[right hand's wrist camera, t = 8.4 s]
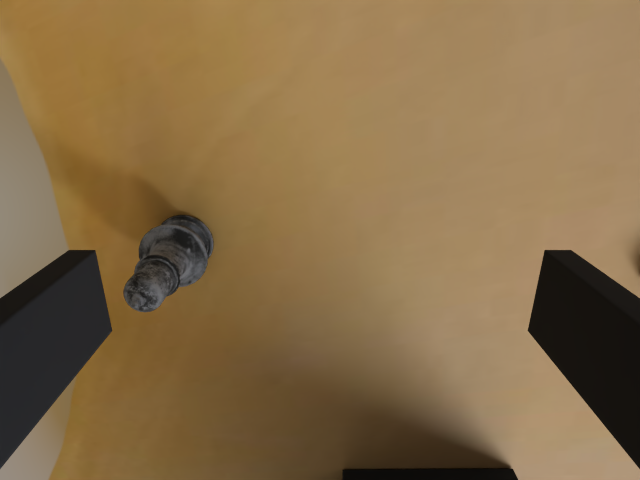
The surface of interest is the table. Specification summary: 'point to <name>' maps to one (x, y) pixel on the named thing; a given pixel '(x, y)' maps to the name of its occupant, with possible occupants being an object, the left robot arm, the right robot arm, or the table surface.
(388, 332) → the table surface
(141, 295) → the grey chess piece
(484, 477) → the cardboard box
